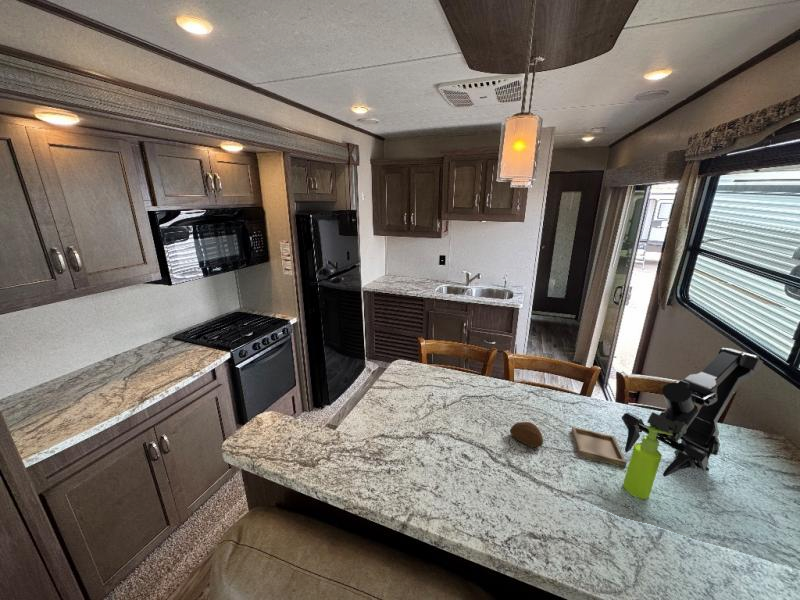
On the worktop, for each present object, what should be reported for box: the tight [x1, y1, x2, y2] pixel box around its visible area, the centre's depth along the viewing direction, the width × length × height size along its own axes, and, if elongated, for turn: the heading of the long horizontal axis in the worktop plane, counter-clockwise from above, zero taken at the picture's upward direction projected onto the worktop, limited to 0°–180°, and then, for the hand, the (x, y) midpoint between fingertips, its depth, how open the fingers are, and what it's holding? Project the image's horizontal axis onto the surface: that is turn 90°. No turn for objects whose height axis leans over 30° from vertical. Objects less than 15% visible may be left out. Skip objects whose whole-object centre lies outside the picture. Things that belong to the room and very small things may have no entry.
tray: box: [571, 426, 628, 468], centre depth 103 cm, size 13×13×2 cm
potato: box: [509, 421, 544, 448], centre depth 104 cm, size 7×10×7 cm
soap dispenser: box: [622, 425, 673, 500], centre depth 85 cm, size 6×7×20 cm
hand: (643, 463), depth 84 cm, fingers open, 9 cm apart
